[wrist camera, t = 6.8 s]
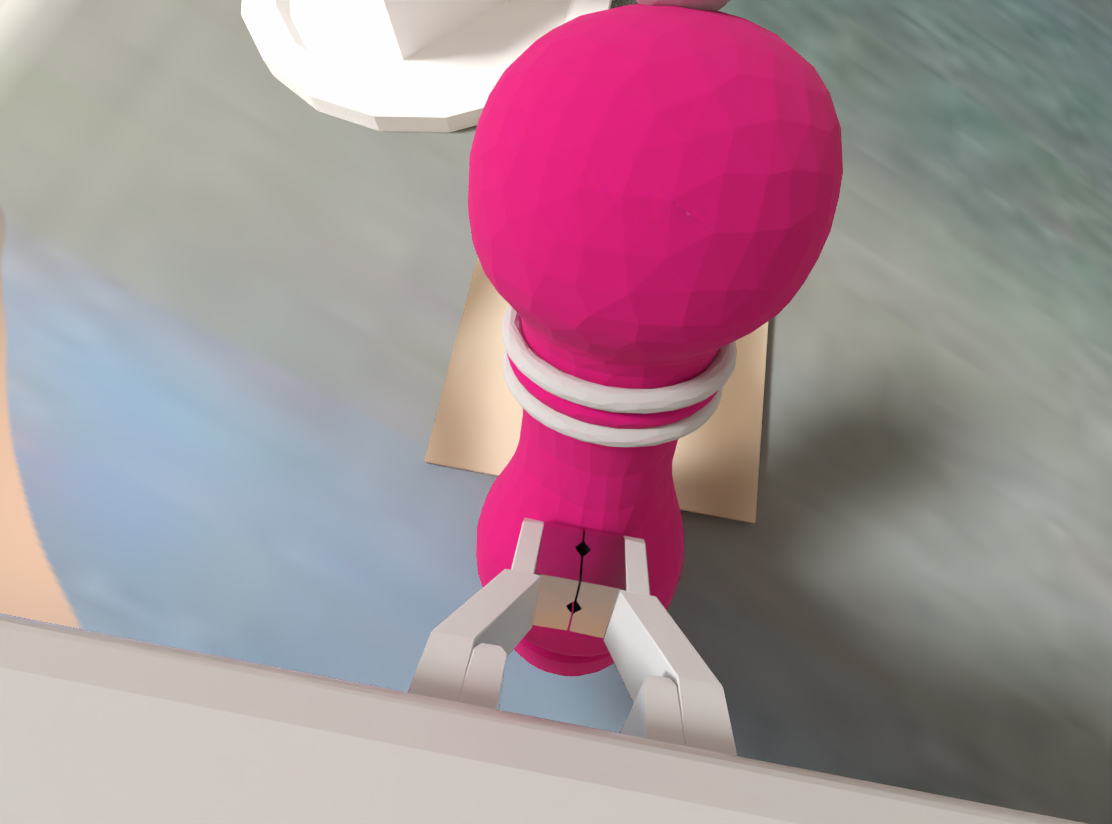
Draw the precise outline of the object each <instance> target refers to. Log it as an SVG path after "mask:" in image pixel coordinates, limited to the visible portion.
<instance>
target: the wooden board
mask: <svg viewBox="0 0 1112 824" xmlns="http://www.w3.org/2000/svg"><path fill="white" fill-rule="evenodd" d="M509 306H510V304H509V303H508V302H507V301H506V300H505V299H504V298H503V297H502V296H501V295H500V294H499V293H498V292H497V290H496V289H495V288H494V286H493V285H492V283H491V282H490V280H489V279H488V278H487V276H486V275H485V273H484V271H483V268H482V265H481V263H480V260H479V258H478V257H477V261H476V265H475V269H474V273H473V277H472V280H471V284H470V288H469V292H468V296H467V300H466V303H465V307H464V311H463V315H462V319H461V322H460V326H459V330H458V334H457V338H456V342H455V345H454V349H453V353H452V357H451V361H450V364H449V368H448V372H447V376H446V380H445V384H444V387H443V391H442V395H441V399H440V403H439V406H438V410H437V414H436V418H435V422H434V426H433V429H432V433H431V437H430V441H429V445H428V449H427V452H426V456H425V460H424V462H426V463H429V464H435V465H440V466H446V467H451V468H456V469H462V470H467V471H473V472H478V473H483V474H489V475H494V476H499V475H500V473H501V472H502V471H503V470H504V468H505V467H506V466H507V464H508V463H509V462H510V460H511V458H512V457H513V455H514V453H515V451H516V449H517V446H518V443H519V439H520V431H521V424H522V417H523V408H522V407H521V406H520V404H519V403H518V402H517V400H516V399H515V398H514V396H513V395H512V394H511V392H510V391H509V389H508V386H507V384H506V382H505V379H504V375H503V355H504V350H505V346H504V344H503V341H502V331H501V327H502V320H503V317H504V315H505V312H506V310H507V309H508V307H509ZM767 334H768V322H766V323H765V324H763V325H762V326H761V327H759V328H758V329H756V330H755V331H753V332H752V333H750V334H748V335H746V336H744V337H742V338H740V339H738V340H736V341H735V342H736V348H737V357H736V364H735V368H734V370H733V373H732V374H731V376H730V377H729V379H728V380H727V382H726V383H725V385H724V386H723V389H722V396H721V400H720V403H719V405H718V407H717V409H716V410H715V412H714V414H713V415H712V416H711V417H710V418H709V420H708V421H707V422H706V423H705V424H703V425H702V426H701V427H700V428H698V429H697V430H696V431H694V432H692V433H690V434H688V435H686V436H684V437H682V438H680V439H678V442H677V446H676V450H675V453H674V457H673V461H672V476H673V481H674V487H675V491H676V495H677V499H678V503H679V507H680V510H683V511H688V512H694V513H699V514H705V515H710V516H715V517H721V518H726V519H732V520H737V521H742V522H748V523H756V508H757V492H758V476H759V461H760V445H761V429H762V413H763V397H764V382H765V366H766V350H767Z"/></svg>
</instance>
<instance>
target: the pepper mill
mask: <svg viewBox="0 0 1112 824" xmlns="http://www.w3.org/2000/svg"><path fill="white" fill-rule="evenodd" d="M636 1H637V2H638V4H632V5H626V6H621V7H617V8H612V9H607V10H603V11H598V12H594V13H589V14H585V15H581V16H579V17H577V18H575V19H573V20H570V21H568V22H566V23H564V24H562V25H560V26H558V27H556V28H554V29H552V30H551V31H549V32H548V33H546V34H545V35H543V36H542V37H541V38H539V39H538V40H536V41H535V42H534V43H533V44H532V45H531V46H530V47H529V48H528V49H526V50H525V51H524V52H523V53H522V54H521V55H520V56H519V57H518V58H517V59H516V60H515V61H514V62H513V63H512V64H511V65H510V66H509V67H508V68H507V69H506V70H505V71H504V72H503V74H502V76H501V77H500V79H499V80H498V82H497V83H496V85H495V87H494V88H493V90H492V91H491V93H490V94H489V97H488V99H487V102H486V104H485V106H484V109H483V111H482V113H481V116H480V118H479V121H478V124H477V128H476V132H475V137H474V141H473V145H472V149H471V153H470V162H469V192H468V212H469V219H470V226H471V233H472V240H473V244H474V247H475V250H476V253H477V255H478V258H479V260H480V263H481V265H482V268H483V271H484V273H485V275H486V276H487V278H488V279H489V280H490V282H491V283H492V285H493V286H494V288H495V289H496V290H497V292H498V293H499V294H500V295H501V296H502V297H503V298H504V299H505V300H506V301H507V302H508V303H509V304H510V306H509V307H508V309H507V310H506V312H505V315H504V317H503V320H502V327H501V331H502V341H503V344H504V346H505V350H504V355H503V375H504V379H505V382H506V384H507V386H508V389H509V391H510V392H511V394H512V395H513V396H514V398H515V399H516V400H517V402H518V403H519V404H520V406H521V407H522V408H523V417H522V424H521V431H520V439H519V443H518V446H517V449H516V451H515V453H514V455H513V457H512V458H511V460H510V462H509V463H508V464H507V466H506V467H505V468H504V470H503V471H502V472H501V473H500V475H499V476H498V477H497V479H496V480H495V481H494V483H493V485H492V487H491V489H490V491H489V493H488V495H487V497H486V500H485V503H484V505H483V508H482V511H481V515H480V519H479V522H478V526H477V551H476V556H477V566H478V574H479V577H480V580H481V583H482V586H483V587H484V586H485V585H487V584H488V583H489V582H490V581H491V580H493V579H494V578H495V577H496V576H497V575H498V574H500V573H501V572H502V571H503V570H504V569H509V570H511V568H512V564H513V560H514V556H515V551H516V547H517V543H518V539H519V535H520V531H521V527H522V523H523V521H524V518H529V519H534V520H539V521H544V522H545V521H546V522H551V523H555V524H560V525H565V526H570V527H575V528H580V529H583V532H584V529H587V530H593V531H599V532H605V533H611V534H617V535H622V536H628V537H634V538H640V539H644V541H645V544H646V555H647V566H648V577H649V588H650V595H651V596H655V597H657V598H658V600H659V601H660V602H661V604H662V605H663V606H664V608H665V609H666V610H667V609H668V607H669V604H670V602H671V600H672V598H673V596H674V593H675V590H676V587H677V584H678V581H679V578H680V574H681V570H682V566H683V556H684V530H683V520H682V516H681V512H680V507H679V503H678V499H677V495H676V491H675V487H674V481H673V476H672V461H673V457H674V453H675V450H676V446H677V442H678V439H680V438H682V437H684V436H686V435H688V434H690V433H692V432H694V431H696V430H697V429H698V428H700V427H701V426H702V425H703V424H705V423H706V422H707V421H708V420H709V418H710V417H711V416H712V415H713V414H714V412H715V410H716V409H717V407H718V405H719V403H720V400H721V396H722V389H723V386H724V385H725V383H726V382H727V380H728V379H729V377H730V376H731V374H732V373H733V370H734V368H735V364H736V357H737V348H736V342H735V341H736V340H738V339H740V338H742V337H744V336H746V335H748V334H750V333H752V332H753V331H755V330H756V329H758V328H759V327H761V326H762V325H763V324H765V323H766V322H768V321H769V320H770V319H772V318H773V317H775V316H776V315H777V314H779V313H780V312H781V311H782V309H783V308H784V307H785V306H786V305H787V304H788V303H789V302H790V301H791V300H792V298H793V297H794V296H795V294H796V293H797V292H798V290H799V289H800V288H801V286H802V285H803V284H804V282H805V280H806V279H807V277H808V275H809V273H810V272H811V270H812V268H813V267H814V265H815V263H816V262H817V260H818V258H819V256H820V253H821V251H822V249H823V246H824V244H825V242H826V240H827V237H828V235H829V233H830V230H831V226H832V222H833V218H834V214H835V210H836V206H837V202H838V198H839V193H840V187H841V180H842V174H843V165H842V143H841V128H840V124H839V121H838V118H837V115H836V112H835V109H834V105H833V102H832V99H831V96H830V93H829V91H828V89H827V88H826V86H825V85H824V83H823V81H822V80H821V78H820V76H819V75H818V73H817V72H816V70H815V68H814V67H813V66H812V65H811V64H810V63H809V62H807V61H806V60H805V59H804V58H803V57H802V56H801V55H799V54H798V53H797V52H796V51H795V50H794V49H793V48H791V47H790V46H789V45H788V44H787V43H786V42H785V41H783V40H782V39H781V38H780V37H779V36H778V35H776V34H774V33H772V32H770V31H768V30H766V29H764V28H762V27H761V26H759V25H757V24H755V23H753V22H751V21H749V20H747V19H744V18H741V17H737V16H734V15H730V14H727V13H723V12H720V11H718V10H719V9H721V8H722V7H723V6H725V5H726V4H727V3H728V2H729V1H730V0H636ZM543 527H544V526H543ZM580 551H581V550H580ZM569 629H570V620H569V624H568V628H567V630H561V629H555V628H548V627H542V626H536V625H532V628H531V629H530V630H529V631H528V633H527V634H526V635H525V636H524V637H523V639H522V640H521V641H520V642H519V643H518V645H517V646H516V647H515V648H514V650H515V651H516V652H517V653H518V654H519V655H520V656H522V657H523V658H524V659H525V660H526V661H527V662H529V663H530V664H532V665H534V666H535V667H537V668H539V669H541V670H544V671H546V672H550V673H554V674H558V675H563V676H580V675H585V674H590V673H594V672H597V671H600V670H602V669H604V668H606V667H608V666H609V665H611V664H613V663H614V661H613V659H612V657H611V654H610V652H609V650H608V648H607V646H606V644H605V642H604V638H600V637H595V636H591V635H586V634H581V633H577V632H572V631H569Z"/></svg>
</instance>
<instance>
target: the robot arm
mask: <svg viewBox="0 0 1112 824" xmlns="http://www.w3.org/2000/svg"><path fill="white" fill-rule="evenodd" d="M543 526H544V527H543ZM580 550H581V551H580ZM569 620H570V629H569V631H572V632H577V633H581V634H586V635H591V636H595V637H600V638H604V642H605V644H606V646H607V648H608V650H609V652H610V654H611V657H612V659H613V661H614V663H615V665H616V667H617V669H618V671H619V673H620V675H621V677H622V679H623V682H624V684H625V686H626V688H627V690H628V692H629V694H630V696H631V698H632V700H633V702H634V704H633V706H632V708H631V710H630V713H629V715H628V717H627V719H626V721H625V723H624V726H623V728H622V730H621V732H620V733H616V732H611V731H606V730H600V729H595V728H590V727H585V726H580V725H574V724H569V723H564V722H559V721H554V720H548V719H543V718H538V717H533V716H528V715H522V714H517V713H512V712H507V711H501V710H499V707H500V699H501V692H502V685H503V677H504V670H505V662H506V658H507V656H508V655H509V654H510V653H511V652H512V650H513V649H514V648H515V647H516V646H517V645H518V643H519V642H520V641H521V640H522V639H523V637H524V636H525V635H526V634H527V633H528V631H529V630H530V629H531V628H532V625H536V626H542V627H548V628H555V629H561V630H567V628H568V624H569ZM0 824H1088V823H1083V822H1077V821H1072V820H1067V819H1062V818H1057V817H1052V816H1046V815H1041V814H1036V813H1031V812H1026V811H1020V810H1015V809H1010V808H1005V807H1000V806H994V805H989V804H984V803H979V802H974V801H968V800H963V799H958V798H953V797H948V796H943V795H937V794H932V793H927V792H922V791H917V790H911V789H906V788H901V787H896V786H891V785H885V784H880V783H875V782H870V781H865V780H859V779H854V778H849V777H844V776H839V775H834V774H828V773H823V772H818V771H813V770H808V769H802V768H797V767H792V766H787V765H782V764H776V763H771V762H766V761H761V760H756V759H750V758H745V757H740V756H737V752H736V747H735V742H734V737H733V733H732V728H731V723H730V718H729V714H728V709H727V704H726V699H725V694H724V690H723V686H722V685H721V684H720V682H719V681H718V680H717V678H716V677H715V676H714V674H713V673H712V671H711V670H710V669H709V667H708V666H707V665H706V663H705V662H704V661H703V659H702V658H701V657H700V655H699V654H698V652H697V651H696V650H695V648H694V647H693V646H692V644H691V643H690V642H689V640H688V639H687V638H686V636H685V635H684V634H683V632H682V631H681V629H680V628H679V627H678V625H677V624H676V623H675V621H674V620H673V619H672V617H671V616H670V615H669V613H668V612H667V610H666V609H665V608H664V606H663V605H662V604H661V602H660V601H659V600H658V598H657V597H655V596H651V595H650V588H649V577H648V566H647V555H646V544H645V541H644V539H640V538H634V537H628V536H622V535H617V534H611V533H605V532H599V531H593V530H587V529H584V532H583V529H580V528H575V527H570V526H565V525H560V524H555V523H551V522H546V521H545V522H544V521H539V520H534V519H529V518H524V521H523V523H522V527H521V531H520V535H519V539H518V543H517V547H516V551H515V556H514V560H513V564H512V568H511V570H509V569H504V570H503V571H502V572H501V573H500V574H498V575H497V576H496V577H495V578H494V579H493V580H491V581H490V582H489V583H488V584H487V585H485V586H484V587H483V588H482V589H481V590H480V591H478V592H477V593H476V594H475V595H474V596H472V597H471V598H470V599H469V600H468V601H467V602H465V603H464V604H463V605H462V606H461V607H459V608H458V609H457V610H456V611H455V612H454V613H452V614H451V615H450V616H449V617H448V618H447V619H445V620H444V621H443V622H442V623H441V624H439V625H438V626H437V627H436V628H435V629H434V630H432V631H431V634H430V636H429V639H428V642H427V644H426V647H425V649H424V652H423V655H422V657H421V660H420V662H419V665H418V667H417V670H416V673H415V675H414V678H413V680H412V683H411V685H410V688H409V691H408V692H403V691H398V690H392V689H387V688H382V687H377V686H372V685H367V684H361V683H356V682H351V681H346V680H341V679H335V678H330V677H325V676H320V675H315V674H309V673H304V672H299V671H294V670H289V669H283V668H278V667H273V666H268V665H263V664H258V663H253V662H247V661H242V660H237V659H232V658H227V657H222V656H216V655H211V654H206V653H201V652H196V651H191V650H186V649H180V648H175V647H170V646H165V645H160V644H155V643H149V642H144V641H139V640H134V639H129V638H124V637H119V636H113V635H108V634H103V633H98V632H93V631H88V630H82V629H77V628H72V627H67V626H62V625H57V624H52V623H46V622H41V621H36V620H30V619H26V618H21V617H16V616H11V615H6V614H1V613H0Z"/></svg>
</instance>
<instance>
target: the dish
mask: <svg viewBox="0 0 1112 824" xmlns="http://www.w3.org/2000/svg"><path fill="white" fill-rule="evenodd" d="M611 3H612V0H242V8H241V16H242V18H243V20H244V22H245V24H246V26H247V28H248V30H249V32H250V34H251V36H252V38H253V40H254V42H255V44H256V46H257V48H258V50H259V52H260V54H261V56H262V58H263V60H264V61H265V63H266V65H267V66H268V68H269V69H270V71H271V73H272V74H273V76H274V77H276V78H277V79H278V80H279V81H281V82H282V83H283V84H284V85H286V86H287V87H288V88H290V89H291V90H292V91H293V92H295V93H296V94H297V95H298V96H300V97H301V98H302V99H303V100H305V101H306V102H307V103H309V104H310V105H311V106H312V107H314V108H315V109H316V110H317V111H320V112H323V113H326V114H329V115H332V116H335V117H338V118H341V119H344V120H347V121H350V122H353V123H356V124H359V125H363V126H366V127H369V128H372V129H375V130H378V131H398V132H454V131H457V130H461V129H465V128H469V127H472V126H476V125H477V124H478V121H479V118H480V116H481V113H482V111H483V109H484V106H485V104H486V102H487V99H488V97H489V94H490V93H491V91H492V90H493V88H494V87H495V85H496V83H497V82H498V80H499V79H500V77H501V76H502V74H503V72H504V71H505V70H506V69H507V68H508V67H509V66H510V65H511V64H512V63H513V62H514V61H515V60H516V59H517V58H518V57H519V56H520V55H521V54H522V53H523V52H524V51H525V50H526V49H528V48H529V47H530V46H531V45H532V44H533V43H534V42H535V41H536V40H538V39H539V38H541V37H542V36H543V35H545V34H546V33H548V32H549V31H551V30H552V29H554V28H556V27H558V26H560V25H562V24H564V23H566V22H568V21H570V20H573V19H575V18H577V17H579V16H581V15H585V14H589V13H594V12H598V11H603V10H607V9H610V7H611Z"/></svg>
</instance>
